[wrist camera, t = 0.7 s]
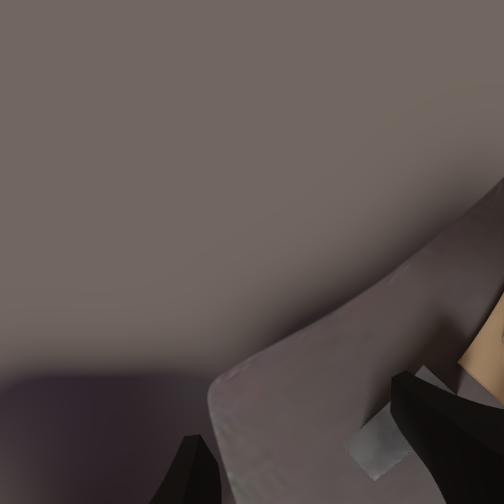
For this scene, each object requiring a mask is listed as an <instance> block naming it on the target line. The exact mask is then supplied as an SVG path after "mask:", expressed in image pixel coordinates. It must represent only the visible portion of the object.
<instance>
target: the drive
mask: <svg viewBox="0 0 504 504" xmlns="http://www.w3.org/2000/svg"><path fill="white" fill-rule="evenodd" d="M415 376H417V377H419V378H421V379H422V380H424V381H426V382H428V383H430V384H433V385H435V386H437V387H439V388H441V389H443V390H445V391H447V392H450V393H452V394H454V393H453V392H452V391H451V390H450V389H449V388H448V387H447V386H446V385H445V384H444V383H443V382H441V381H440V380H439V379H438V378H437V377H436V376H435V375H434V374H433V373H432V372H431V371H429V370H428V369H427V368H426V367H425V366H424V365H423V366H422V367H421V368H420V369H419V371H418V372H417V373H416V374H415ZM454 395H455V394H454ZM390 404H391V401H390V402H389V403H388V404H387V405H386V406H385V407H384V408H383V409H382V410H381V411H380V412H379V413H377V414H376V415H375V416H374V417H373V418H372V419H371V420H370V421H369V422H368V423H367V424H366V425H364V426H363V427H362V428H361V429H360V430H359V431H358V432H356V433H355V434H354V435H353V436H352V437H351V438H349V439H348V440H347V441H346V442H345V443H343V444H342V446H343V448H344V449H345V450H346V451H347V452H348V453H349V454H350V455H351V456H352V458H353V459H354V460H355V461H356V462H357V463H358V464H359V465H360V466H361V467H362V468H363V469H364V471H365V472H366V473H367V474H368V475H369V476H370V477H371V478H372V479H373V480H374V481H375V480H376V479H378V478H379V477H380V476H382V475H383V474H384V473H386V472H387V471H388V470H390V469H391V468H392V467H393V466H394V465H396V464H397V463H398V462H399V461H401V460H402V459H403V458H404V457H405V456H406V455H408V454H409V453H410V452H411V451H412V450H413V448H412V447H411V445H410V444H409V443H408V441H407V440H406V439H405V437H404V436H403V434H402V433H401V432H400V430H399V428H398V426H397V425H396V423H395V421H394V419H393V417H392V415H391V413H390Z"/></svg>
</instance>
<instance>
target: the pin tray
mask: <svg viewBox="0 0 504 504" xmlns="http://www.w3.org/2000/svg"><path fill="white" fill-rule="evenodd" d="M457 363H458V364H459V365H460V366H461V367H462V368H463V369H464V370H466V371H467V372H468V373H469V374H470V375H471V376H472V377H473V378H474V379H475V380H477V381H478V382H479V383H480V384H481V385H482V386H483V387H484V388H485V389H486V390H487V391H488V392H489V393H491V394H492V395H493V396H494V397H495V398H496V399H497V400H498V401H499V402H500V403H501V404H502V405H503V406H504V292H503V294H502V296H501V298H500V300H499V301H498V303H497V305H496V306H495V308H494V310H493V311H492V313H491V315H490V316H489V318H488V319H487V321H486V323H485V324H484V326H483V327H482V329H481V330H480V332H479V333H478V335H477V336H476V338H475V339H474V341H473V342H472V343H471V345H470V346H469V348H468V349H467V350H466V352H465V353H464V354H463V356H462V357H461V358H460V360H459V361H458V362H457Z"/></svg>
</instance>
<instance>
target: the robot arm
mask: <svg viewBox="0 0 504 504" xmlns="http://www.w3.org/2000/svg"><path fill="white" fill-rule="evenodd" d="M390 413H391V415H392V417H393V419H394V421H395V423H396V425H397V426H398V428H399V430H400V432H401V433H402V434H403V436H404V437H405V439H406V440H407V441H408V443H409V444H410V445H411V447H412V448H413V449H414V451H415V452H416V453H417V455H418V456H419V457H420V459H421V460H422V461H423V463H424V464H425V465H426V467H427V468H428V470H429V471H430V473H431V474H432V476H433V478H434V480H435V482H436V483H437V485H438V487H439V489H440V491H441V493H442V495H443V497H444V499H445V501H446V504H504V409H499V408H495V407H491V406H486V405H483V404H479V403H476V402H473V401H470V400H467V399H465V398H462V397H459V396H457V395H454V394H452V393H450V392H447V391H445V390H443V389H441V388H439V387H437V386H435V385H433V384H430V383H428V382H426V381H424V380H422V379H421V378H419V377H417V376H415V375H413V374H411V373H409V372H407V371H404V372H402V373H400V374H398V375H396V376H393V377H392V387H391V404H390ZM148 504H221V481H220V473H219V466H218V463H217V461H216V460H215V458H214V456H213V455H212V453H211V452H210V450H209V448H208V447H207V445H206V444H205V442H204V440H203V439H202V437H201V435H200V434H199V435H192V436H185V437H184V438H183V439H182V441H181V444H180V446H179V448H178V450H177V452H176V454H175V456H174V459H173V461H172V463H171V465H170V467H169V469H168V471H167V472H166V474H165V476H164V478H163V480H162V482H161V484H160V485H159V487H158V489H157V490H156V492H155V494H154V495H153V497H152V499H151V500H150V502H149V503H148Z"/></svg>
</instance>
